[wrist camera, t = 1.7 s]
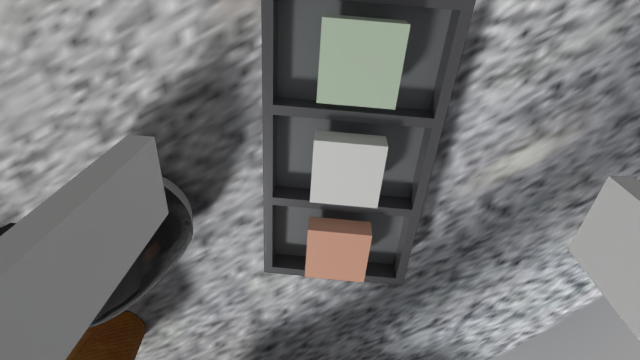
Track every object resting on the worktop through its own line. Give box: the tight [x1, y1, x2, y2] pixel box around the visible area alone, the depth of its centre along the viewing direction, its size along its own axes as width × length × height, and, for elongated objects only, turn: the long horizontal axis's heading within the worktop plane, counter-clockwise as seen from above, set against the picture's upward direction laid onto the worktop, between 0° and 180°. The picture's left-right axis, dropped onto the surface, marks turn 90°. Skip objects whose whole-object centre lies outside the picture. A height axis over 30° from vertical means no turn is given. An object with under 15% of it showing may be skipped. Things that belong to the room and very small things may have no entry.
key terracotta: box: [305, 217, 372, 282], centre depth 34 cm, size 6×6×2 cm
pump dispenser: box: [88, 177, 193, 329], centre depth 31 cm, size 10×10×15 cm
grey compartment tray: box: [261, 0, 476, 285], centre depth 32 cm, size 26×14×4 cm, turn 176°
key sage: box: [316, 14, 411, 110], centre depth 25 cm, size 6×6×2 cm
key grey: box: [310, 130, 388, 208], centre depth 29 cm, size 6×6×2 cm
